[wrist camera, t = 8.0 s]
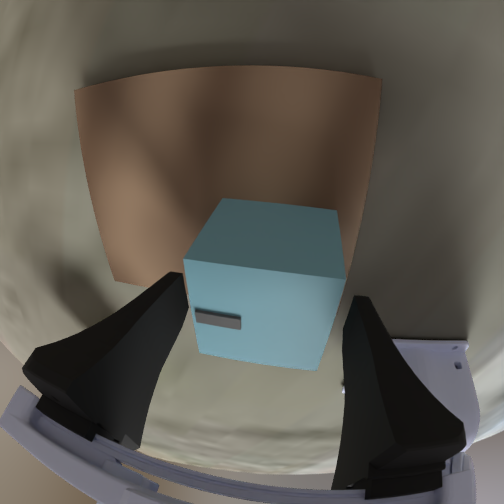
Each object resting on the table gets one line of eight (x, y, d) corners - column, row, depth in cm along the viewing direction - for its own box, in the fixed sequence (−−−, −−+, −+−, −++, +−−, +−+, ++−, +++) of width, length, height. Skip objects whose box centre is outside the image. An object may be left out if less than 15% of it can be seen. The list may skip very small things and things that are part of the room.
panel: (375, 78, 10) (382, 79, 9) (336, 301, 17) (336, 314, 17) (87, 87, 12) (74, 90, 11) (122, 270, 20) (114, 280, 19)
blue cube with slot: (336, 210, 13) (346, 282, 9) (319, 296, 16) (316, 373, 12) (222, 198, 14) (181, 261, 9) (226, 284, 17) (198, 355, 13)
